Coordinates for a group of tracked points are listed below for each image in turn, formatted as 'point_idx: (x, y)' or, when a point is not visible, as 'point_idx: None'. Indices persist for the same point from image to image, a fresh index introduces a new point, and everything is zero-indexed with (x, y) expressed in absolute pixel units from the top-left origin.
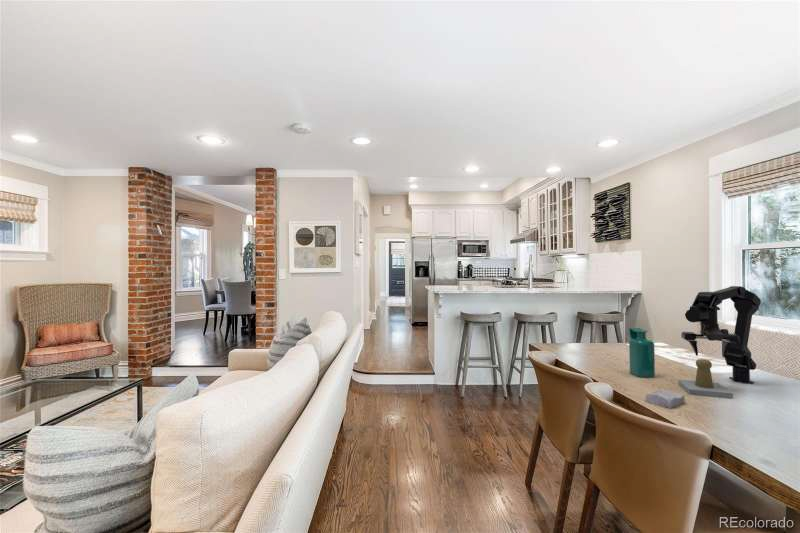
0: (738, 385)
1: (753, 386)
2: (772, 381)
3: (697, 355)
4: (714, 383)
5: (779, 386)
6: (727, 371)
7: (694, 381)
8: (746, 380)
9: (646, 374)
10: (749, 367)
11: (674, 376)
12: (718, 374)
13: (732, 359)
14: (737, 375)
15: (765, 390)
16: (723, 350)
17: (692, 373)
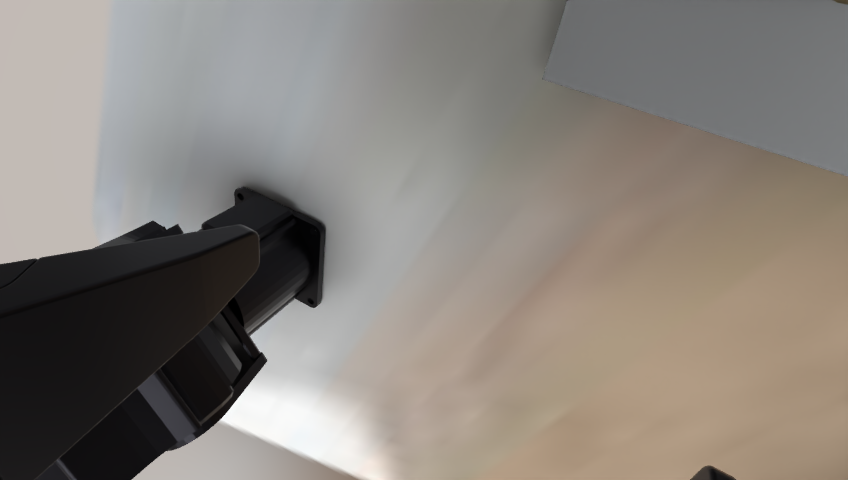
0: (343, 150)
1: (264, 126)
2: (156, 222)
3: (718, 475)
4: (607, 54)
5: (147, 131)
6: (276, 398)
7: (844, 136)
8: (260, 202)
9: None
10: (153, 231)
11: (720, 431)
12: (341, 374)
13: (191, 343)
14: (276, 255)
15: (230, 25)
16: (119, 325)
17: (486, 434)
